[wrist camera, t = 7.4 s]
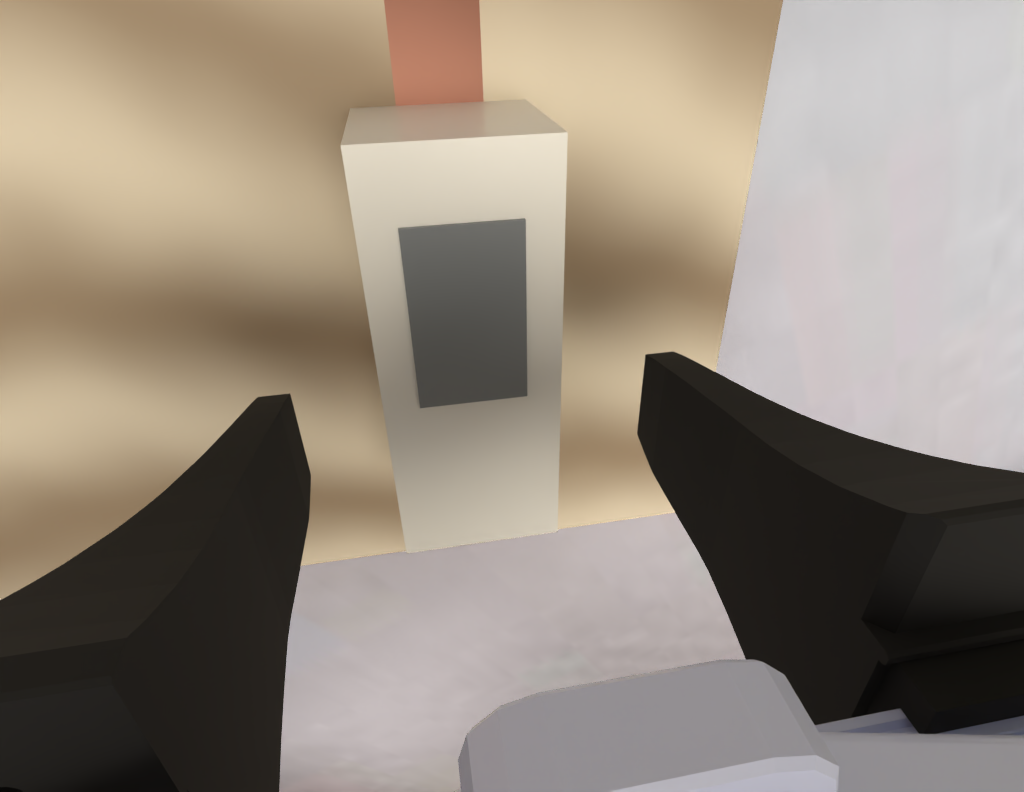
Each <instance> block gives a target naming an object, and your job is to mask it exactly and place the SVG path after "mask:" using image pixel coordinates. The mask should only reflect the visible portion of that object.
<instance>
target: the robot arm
mask: <svg viewBox="0 0 1024 792" xmlns="http://www.w3.org/2000/svg"><path fill="white" fill-rule="evenodd" d="M637 435H638V438H639V440H640V443H641V446H642V448H643V451H644V453H645V456H646V458H647V461H648V463H649V466H650V468H651V470H652V473H653V474H654V476H655V478H656V480H657V482H658V483H659V485H660V487H661V489H662V490H663V492H664V494H665V496H666V497H667V499H668V501H669V503H670V504H671V506H672V508H673V509H674V511H675V513H676V514H677V516H678V518H679V520H680V521H681V523H682V525H683V526H684V528H685V530H686V532H687V533H688V535H689V537H690V538H691V540H692V542H693V543H694V545H695V547H696V549H697V550H698V552H699V554H700V556H701V558H702V560H703V561H704V563H705V565H706V567H707V569H708V571H709V573H710V575H711V578H712V580H713V582H714V584H715V587H716V589H717V591H718V593H719V596H720V598H721V600H722V602H723V605H724V607H725V609H726V612H727V614H728V616H729V619H730V621H731V624H732V626H733V629H734V631H735V633H736V636H737V638H738V641H739V643H740V646H741V648H742V651H743V653H744V655H745V658H746V660H716V661H711V662H705V663H699V664H694V665H688V666H683V667H677V668H672V669H666V670H661V671H655V672H650V673H644V674H639V675H633V676H628V677H622V678H617V679H611V680H606V681H600V682H595V683H589V684H583V685H578V686H572V687H567V688H561V689H556V690H550V691H545V692H539V693H536V694H533V695H530V696H528V697H525V698H522V699H519V700H516V701H513V702H510V703H507V704H504V705H501V706H500V707H498V708H497V709H496V710H494V711H493V712H492V713H491V714H489V715H488V716H487V717H486V718H484V719H483V720H482V721H480V722H479V723H478V724H477V725H475V726H474V727H473V728H472V729H471V730H470V731H469V733H468V734H467V735H466V738H465V741H464V744H463V747H462V750H461V753H460V756H459V759H458V763H459V773H460V782H461V789H459V790H457V791H454V792H1024V473H1021V472H1015V471H1009V470H1002V469H996V468H990V467H983V466H977V465H972V464H967V463H962V462H957V461H953V460H948V459H943V458H939V457H934V456H929V455H925V454H921V453H917V452H913V451H909V450H905V449H902V448H898V447H895V446H891V445H888V444H884V443H881V442H877V441H874V440H871V439H867V438H864V437H861V436H858V435H855V434H852V433H849V432H846V431H843V430H840V429H838V428H835V427H832V426H830V425H827V424H824V423H822V422H819V421H816V420H814V419H811V418H809V417H806V416H804V415H801V414H799V413H797V412H795V411H792V410H790V409H788V408H786V407H784V406H781V405H779V404H777V403H775V402H773V401H770V400H768V399H766V398H764V397H762V396H760V395H758V394H756V393H754V392H752V391H750V390H748V389H746V388H744V387H743V386H741V385H739V384H737V383H735V382H733V381H731V380H729V379H727V378H725V377H724V376H722V375H720V374H718V373H716V372H714V371H712V370H710V369H709V368H707V367H705V366H703V365H701V364H699V363H697V362H695V361H693V360H691V359H689V358H687V357H685V356H683V355H681V354H678V353H676V352H674V351H672V352H663V353H654V354H645V364H644V373H643V382H642V392H641V401H640V411H639V420H638V429H637ZM310 491H311V473H310V469H309V465H308V461H307V457H306V453H305V450H304V446H303V442H302V438H301V434H300V430H299V426H298V422H297V418H296V414H295V410H294V406H293V402H292V399H291V395H290V393H289V394H280V395H271V396H262V397H257V398H256V399H255V400H254V401H253V402H252V403H251V404H250V405H249V406H248V407H247V408H246V409H245V411H244V412H243V413H242V414H241V415H240V416H239V417H238V418H237V419H236V420H235V421H234V423H233V424H232V425H231V426H230V427H229V428H228V429H227V430H226V431H225V432H224V433H223V434H222V435H221V436H220V437H219V438H218V439H217V441H216V442H215V443H214V444H213V445H212V446H211V447H210V448H209V449H208V450H207V451H206V452H205V453H204V454H203V455H202V456H201V457H200V458H199V459H198V460H197V461H196V462H195V463H194V464H193V465H191V466H190V467H189V468H188V469H187V470H186V471H185V472H184V473H183V474H182V475H181V476H180V477H179V478H178V479H176V480H175V481H174V482H173V483H172V484H171V485H170V486H169V487H168V488H167V489H166V490H165V491H163V492H162V493H161V494H160V495H159V496H158V497H156V498H155V499H154V500H153V501H151V502H150V503H149V504H148V505H147V506H145V507H144V508H143V509H141V510H140V511H139V512H138V513H136V514H135V515H134V516H132V517H131V518H130V519H128V520H127V521H126V522H125V523H123V524H122V525H121V526H119V527H118V528H116V529H115V530H114V531H112V532H111V533H109V534H108V535H106V536H105V537H103V538H102V539H100V540H99V541H97V542H96V543H94V544H93V545H91V546H90V547H88V548H87V549H85V550H84V551H82V552H81V553H79V554H78V555H76V556H75V557H73V558H72V559H70V560H69V561H67V562H66V563H64V564H62V565H61V566H59V567H58V568H56V569H54V570H53V571H51V572H49V573H47V574H46V575H44V576H42V577H41V578H39V579H37V580H36V581H34V582H32V583H30V584H29V585H27V586H25V587H23V588H21V589H20V590H18V591H16V592H14V593H12V594H11V595H9V596H7V597H5V598H3V599H2V600H0V792H279V779H280V754H281V732H282V715H283V698H284V682H285V669H286V655H287V642H288V634H289V626H290V619H291V613H292V608H293V603H294V598H295V592H296V587H297V582H298V577H299V571H300V566H301V561H302V556H303V550H304V545H305V539H306V534H307V528H308V523H309V513H310Z"/></svg>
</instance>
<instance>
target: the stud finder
mask: <svg viewBox="0 0 1024 792" xmlns="http://www.w3.org/2000/svg"><path fill="white" fill-rule="evenodd" d="M567 141H568V132H567V131H565V130H564V129H563V128H562V127H560V126H559V125H558V124H557V123H555V122H554V121H553V120H551V119H550V118H549V117H548V116H546V115H545V114H544V113H542V112H541V111H540V110H539V109H537V108H536V107H535V106H534V105H532V104H531V103H530V102H528V101H527V100H526V99H524V100H504V101H484V102H464V103H444V104H424V105H404V106H384V107H364V108H350V111H349V115H348V119H347V122H346V126H345V130H344V134H343V138H342V141H341V145H340V146H341V152H342V158H343V164H344V170H345V177H346V183H347V189H348V195H349V201H350V208H351V214H352V220H353V226H354V232H355V238H356V245H357V251H358V257H359V263H360V269H361V276H362V282H363V288H364V294H365V300H366V307H367V313H368V319H369V325H370V331H371V337H372V344H373V350H374V356H375V362H376V368H377V375H378V381H379V387H380V393H381V399H382V405H383V412H384V418H385V424H386V430H387V436H388V443H389V449H390V455H391V461H392V467H393V474H394V480H395V486H396V492H397V498H398V504H399V511H400V517H401V523H402V529H403V535H404V542H405V548H406V553H413V552H420V551H427V550H434V549H441V548H448V547H455V546H462V545H469V544H476V543H483V542H490V541H497V540H504V539H511V538H518V537H525V536H532V535H539V534H546V533H553V532H557V530H558V491H559V452H560V414H561V375H562V336H563V297H564V258H565V219H566V180H567Z"/></svg>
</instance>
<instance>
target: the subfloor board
mask: <svg viewBox="0 0 1024 792" xmlns="http://www.w3.org/2000/svg"><path fill="white" fill-rule="evenodd" d="M782 2H783V0H0V598H1V600H2V599H3V598H5V597H7V596H9V595H11V594H12V593H14V592H16V591H18V590H20V589H21V588H23V587H25V586H27V585H29V584H30V583H32V582H34V581H36V580H37V579H39V578H41V577H42V576H44V575H46V574H47V573H49V572H51V571H53V570H54V569H56V568H58V567H59V566H61V565H62V564H64V563H66V562H67V561H69V560H70V559H72V558H73V557H75V556H76V555H78V554H79V553H81V552H82V551H84V550H85V549H87V548H88V547H90V546H91V545H93V544H94V543H96V542H97V541H99V540H100V539H102V538H103V537H105V536H106V535H108V534H109V533H111V532H112V531H114V530H115V529H116V528H118V527H119V526H121V525H122V524H123V523H125V522H126V521H127V520H128V519H130V518H131V517H132V516H134V515H135V514H136V513H138V512H139V511H140V510H141V509H143V508H144V507H145V506H147V505H148V504H149V503H150V502H151V501H153V500H154V499H155V498H156V497H158V496H159V495H160V494H161V493H162V492H163V491H165V490H166V489H167V488H168V487H169V486H170V485H171V484H172V483H173V482H174V481H175V480H176V479H178V478H179V477H180V476H181V475H182V474H183V473H184V472H185V471H186V470H187V469H188V468H189V467H190V466H191V465H193V464H194V463H195V462H196V461H197V460H198V459H199V458H200V457H201V456H202V455H203V454H204V453H205V452H206V451H207V450H208V449H209V448H210V447H211V446H212V445H213V444H214V443H215V442H216V441H217V439H218V438H219V437H220V436H221V435H222V434H223V433H224V432H225V431H226V430H227V429H228V428H229V427H230V426H231V425H232V424H233V423H234V421H235V420H236V419H237V418H238V417H239V416H240V415H241V414H242V413H243V412H244V411H245V409H246V408H247V407H248V406H249V405H250V404H251V403H252V402H253V401H254V400H255V399H256V398H257V397H262V396H271V395H280V394H289V393H290V395H291V399H292V402H293V406H294V410H295V414H296V418H297V422H298V426H299V430H300V434H301V438H302V442H303V446H304V450H305V453H306V457H307V461H308V465H309V469H310V473H311V491H310V513H309V523H308V528H307V534H306V539H305V545H304V550H303V556H302V561H301V566H303V565H310V564H317V563H324V562H331V561H338V560H345V559H352V558H359V557H366V556H373V555H380V554H387V553H394V552H401V551H406V548H405V542H404V535H403V529H402V523H401V517H400V511H399V504H398V498H397V492H396V486H395V480H394V474H393V467H392V461H391V455H390V449H389V443H388V436H387V430H386V424H385V418H384V412H383V405H382V399H381V393H380V387H379V381H378V375H377V368H376V362H375V356H374V350H373V344H372V337H371V331H370V325H369V319H368V313H367V307H366V300H365V294H364V288H363V282H362V276H361V269H360V263H359V257H358V251H357V245H356V238H355V232H354V226H353V220H352V214H351V208H350V201H349V195H348V189H347V183H346V177H345V170H344V164H343V158H342V152H341V146H340V145H341V141H342V138H343V134H344V130H345V126H346V122H347V119H348V115H349V111H350V108H364V107H384V106H404V105H424V104H444V103H464V102H484V101H504V100H524V99H526V100H527V101H528V102H530V103H531V104H532V105H534V106H535V107H536V108H537V109H539V110H540V111H541V112H542V113H544V114H545V115H546V116H548V117H549V118H550V119H551V120H553V121H554V122H555V123H557V124H558V125H559V126H560V127H562V128H563V129H564V130H565V131H567V132H568V141H567V180H566V219H565V258H564V297H563V336H562V375H561V414H560V452H559V491H558V529H563V528H570V527H577V526H584V525H591V524H598V523H605V522H612V521H619V520H626V519H633V518H640V517H647V516H654V515H661V514H668V513H675V511H674V509H673V508H672V506H671V504H670V503H669V501H668V499H667V497H666V496H665V494H664V492H663V490H662V489H661V487H660V485H659V483H658V482H657V480H656V478H655V476H654V474H653V473H652V470H651V468H650V466H649V463H648V461H647V458H646V456H645V453H644V451H643V448H642V446H641V443H640V440H639V438H638V435H637V429H638V420H639V411H640V401H641V392H642V382H643V373H644V364H645V354H654V353H663V352H672V351H674V352H676V353H678V354H681V355H683V356H685V357H687V358H689V359H691V360H693V361H695V362H697V363H699V364H701V365H703V366H705V367H707V368H709V369H710V370H712V371H714V372H716V366H717V361H718V355H719V350H720V344H721V339H722V333H723V328H724V322H725V317H726V311H727V306H728V300H729V295H730V289H731V284H732V278H733V272H734V267H735V261H736V256H737V250H738V245H739V239H740V234H741V228H742V223H743V217H744V212H745V206H746V201H747V195H748V190H749V184H750V179H751V173H752V168H753V162H754V157H755V151H756V146H757V140H758V135H759V129H760V124H761V118H762V113H763V107H764V101H765V96H766V90H767V85H768V79H769V74H770V68H771V63H772V57H773V52H774V46H775V41H776V35H777V30H778V24H779V19H780V13H781V8H782Z"/></svg>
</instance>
